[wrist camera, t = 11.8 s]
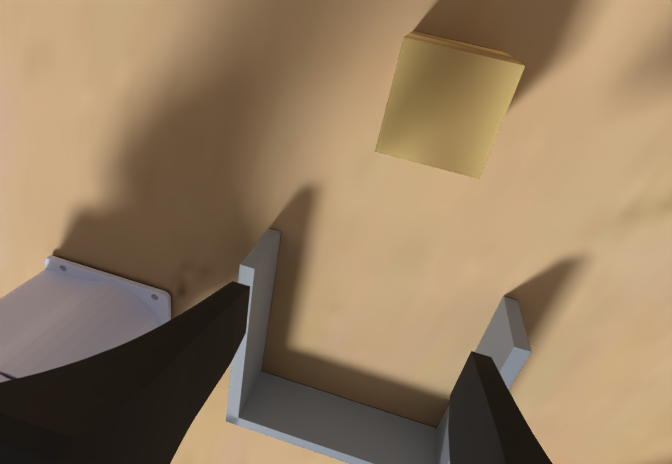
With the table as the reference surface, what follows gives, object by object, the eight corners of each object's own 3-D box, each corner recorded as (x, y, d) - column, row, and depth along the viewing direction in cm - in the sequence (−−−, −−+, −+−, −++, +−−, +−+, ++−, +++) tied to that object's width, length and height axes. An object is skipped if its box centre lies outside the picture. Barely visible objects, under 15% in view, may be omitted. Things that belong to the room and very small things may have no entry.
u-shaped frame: (250, 375, 31) (225, 421, 27) (268, 228, 24) (239, 264, 21) (444, 438, 29) (444, 495, 26) (518, 300, 23) (531, 351, 19)
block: (389, 120, 20) (374, 151, 16) (413, 30, 18) (403, 37, 14) (471, 141, 20) (479, 179, 15) (505, 52, 18) (525, 65, 13)
